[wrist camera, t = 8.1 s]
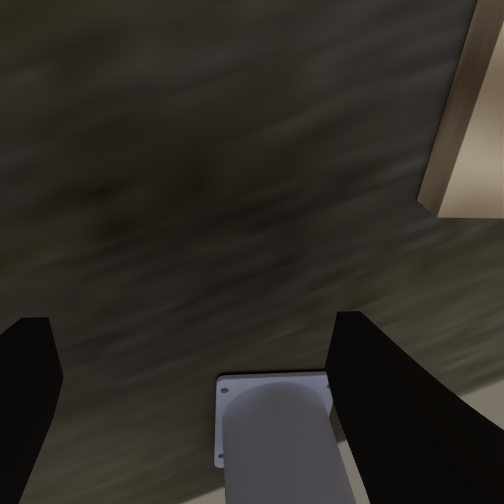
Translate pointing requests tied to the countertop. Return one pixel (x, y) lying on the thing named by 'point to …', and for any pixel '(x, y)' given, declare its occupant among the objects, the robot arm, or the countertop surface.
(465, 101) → the base
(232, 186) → the countertop surface
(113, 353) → the countertop surface
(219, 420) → the robot arm
